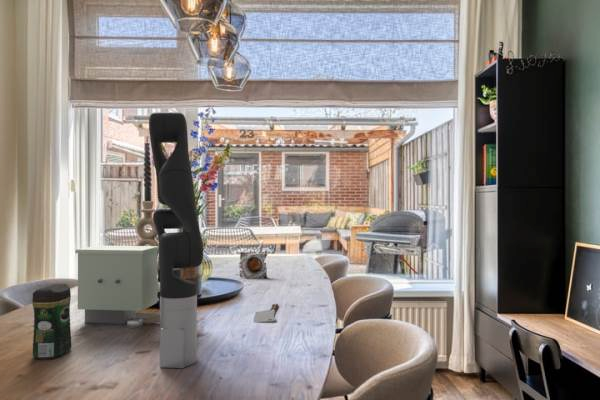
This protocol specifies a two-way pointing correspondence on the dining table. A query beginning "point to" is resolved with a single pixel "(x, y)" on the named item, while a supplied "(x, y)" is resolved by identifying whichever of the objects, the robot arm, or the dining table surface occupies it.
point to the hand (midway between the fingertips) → (169, 318)
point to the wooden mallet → (149, 317)
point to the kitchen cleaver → (266, 315)
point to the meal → (253, 265)
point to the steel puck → (134, 322)
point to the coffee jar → (51, 321)
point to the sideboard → (116, 282)
